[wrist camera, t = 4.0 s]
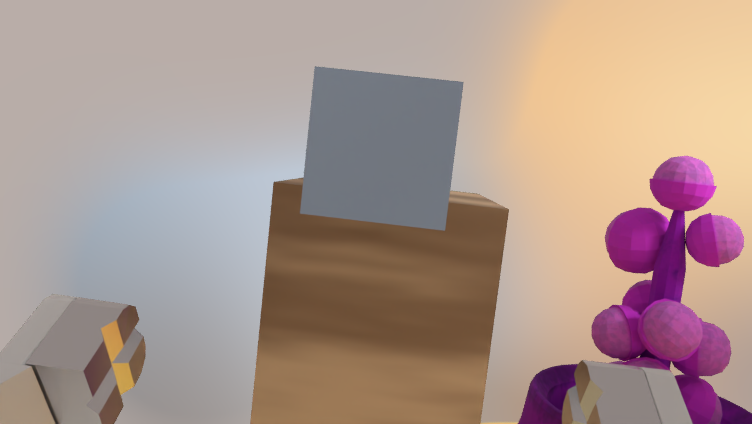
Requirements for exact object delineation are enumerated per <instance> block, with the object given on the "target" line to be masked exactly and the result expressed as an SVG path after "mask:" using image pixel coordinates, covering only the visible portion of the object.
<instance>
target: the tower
mask: <svg viewBox="0 0 752 424" xmlns="http://www.w3.org/2000/svg"><path fill="white" fill-rule="evenodd" d="M303 179H304V178H298V179H291V180H285V181H278V182H274V184H273V195H272V205H271V216H270V227H269V236H268V247H267V257H266V267H265V278H264V288H263V299H262V309H261V319H260V330H259V341H258V351H257V361H256V372H255V381H254V392H253V402H252V412H251V424H480V422H481V414H482V407H483V399H484V392H485V384H486V377H487V369H488V362H489V354H490V347H491V339H492V332H493V325H494V317H495V310H496V302H497V295H498V287H499V280H500V272H501V264H502V257H503V250H504V242H505V234H506V227H507V220H508V212H509V209H507V208H505V207H503V206H501V205H499V204H497V203H495V202H493V201H491V200H489V199H487V198H485V197H483V196H481V195H479V194H475V193H466V192H458V191H450V195H449V203H448V211H447V219H446V227H445V231H443V230H435V229H426V228H418V227H410V226H401V225H393V224H384V223H376V222H367V221H359V220H351V219H342V218H334V217H325V216H317V215H308V214H300V209H301V199H302V189H303Z"/></svg>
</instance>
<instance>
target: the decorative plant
mask: <svg viewBox="0 0 752 424" xmlns="http://www.w3.org/2000/svg"><path fill="white" fill-rule="evenodd" d="M650 189H651V191H652V193H653V196H654V197H655V198H656V200H657V201H658V202H659V203H660V204H661V205H662V206H664V207H667V208H669V209H672V210H674V211H673V213H672V216H671V219H670V222H669V221H668V219H667V218H666V217H665V216H663V215H662V214H661V213H659V212H657V211H655V210H653V209H651V208H637V209H633V210H629V211H626V212H624V213H621V214H620V215H618V216H617V217H616V218H615V219H614V220H613V221H612V222H611V223H610V224H609V226H608V227H607V231H606V235H605V242H606V247H607V251H608V253H609V257H610V259H611V260H612V262H613V263H614V265H615V266H616V267H618V268H620V269H622V270H624V271H627V272H632V273H648V272H651V271H653V277H652V280H644V281H641V282H638V283H636V284H635V285H633V286H632V287H631V288H630V289H629V290H628V291H627V293H626V295H625V296H624V298H623V302H622V305H612V306H611V307H609V309H606V310H603V311H602V312H601V313H600V314H598V315H597V316H596V317H595V319H594V322H593V324H592V338H593V340H594V343H595V345H596V346H597V348H598V349H599V350H600V351H601V352H602V353H604V354H606V355H608V356H610V357H612V358H619V359H620V360H622V361H627V362H622V361H617V362H611V363H612V364H621V365H630V366H637V367H645V368H653V369H662V370H669V371H670V364H671V361H672V363H673V365H674V367H676V368H677V369H678V370H680V371H681V372H682V373H684V374H685V375H677V376H675V379H676V382H677V384H678V387H679V389H680V392H681V395H682V397H683V400H684V402H685V405H686V408H687V410H688V413H689V415H690V418H691V421H692V423H693V424H752V413H750V412H748V411H747V410H745V409H743V408H742V407H740V406H738V405H736V404H734V403H732V402H730V401H728V400H726V399H724V398H721V397H719V396H717V394H716V393H715V392H714V390H713V387H712V386H711V385H710V384H709V383H708V382H706V381H705V380H703V379H700V378H699V376H712V375H715V374H718V373H720V372H722V371H723V370H724V369H725V367H726V366H727V365H728V364H729V360H730V356H731V347H730V341H729V339H728V337H727V336H726V334H725V333H724V331H723V330H721V329H720V328H718V327H717V326H715V325H714V324H711V323H707V322H703V321H702V319H701V318H698V317H697V315H696V314H695V313H694V312H693V311H692V310H691V309H690V308H688V307H687V306H685V305H683V304H681V303H680V302H681V296H682V290H683V284H684V278H685V272H686V261H685V260H686V259H685V244H686V247H687V250H688V253H689V254H690V255H691V256H692V257H693V258H694V259H695V260H696V261H697V262H699V263H701V264H704V265H706V266H711V267H719V265H720V264H724V263H728V262H730V261H732V260H734V259H735V258H737V257H738V256H739V255H740V253H741V251H742V249H743V247H744V246H743V245H744V236H743V234H742V231H741V229H740V227H739V226H738V225H737V224H736V223H735V222H734V221H733V220H732V219H730V218H727V217H724V216H715V215H711V213H709V214H706V215H702V216H699V217H698V218H697V219H695V220H694V221H692V222H691V224H690V226H689V228H688V229H687V231H686V237H685V216H684V215H685V214H684V211H691V210H695V209H698V208H700V207H702V206H704V205H705V204H706V202H707V201H708V200H709V199H710V198H711V197H712V196H713V194H714V192H715V189H716V186H714V182H713V175H712V173H711V171H710V169H709V167H708V166H707V165H706V164H705V163H704V162H703V161H701V160H699V159H696V158H693V157H689V156H680V157H673V158H670V159H668V160H667V161H665V162H664V163H663V164H661V165H660V167H658V169H657V170H656V171H655V174H654V176H653V179H650ZM639 355H640V358H636V357H638V356H639ZM628 360H629V361H628ZM577 365H578V364H571V365H560V366H554V367H550V368H548V369H545V370H542V371H541V372H539V373H538V374H536V375H535V377H534V378H533V380H532V381H531V383H530V386H529V390H528V394H527V397H526V401H525V405H524V408H523V412H522V416H521V418H520V420H519V423H518V424H562V411H563V403H564V400H565V397H566V394H567V391H568V390H569V389H570V388H572V387H574V386H575V385H576V382H575V376H574V373H575V370H576V368H577ZM670 372H671V371H670Z"/></svg>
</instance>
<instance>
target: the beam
mask: <svg viewBox="0 0 752 424" xmlns="http://www.w3.org/2000/svg"><path fill="white" fill-rule="evenodd" d="M462 90H463V82H458V81H448V80H439V79H429V78H420V77H410V76H400V75H391V74H382V73H372V72H363V71H353V70H344V69H334V68H325V67H315V71H314V81H313V90H312V100H311V110H310V121H309V130H308V140H307V149H306V160H305V170H304V179H303V189H302V199H301V209H300V214H308V215H317V216H325V217H334V218H342V219H351V220H359V221H367V222H376V223H384V224H393V225H401V226H410V227H418V228H426V229H435V230H443V231H445V227H446V219H447V211H448V203H449V195H450V187H451V179H452V170H453V162H454V154H455V146H456V138H457V130H458V122H459V113H460V106H461V98H462Z"/></svg>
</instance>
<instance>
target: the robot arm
mask: <svg viewBox="0 0 752 424" xmlns="http://www.w3.org/2000/svg"><path fill="white" fill-rule="evenodd" d="M138 321H139V317H138V314H137V310H136V307H134V306H131V305H126V304H120V303H113V302H106V301H99V300H93V299H86V298H80V297H79V298H77V297H70V296H64V295H56V294H52V295H51V296H49V297H47V298H45V299H44V300H43V301H42V302H41V304H40V305H39V306H38V307H37V308H36V310H35V311H34V312H33V313H32V315H31V316H30V317H29V318H28V319H27V321H26V322H25V323H24V324H23V326H22V327H21V328H20V329H19V330H18V332H17V333H16V334H15V335H14V337H13V338H12V339H11V340H10V342H9V343H8V344H7V345H6V346H5V348H4V349H3V350H2V351H1V353H0V424H114V423H115V421H116V419H117V417H118V415H119V413H120V412H121V410H122V408H123V403H122V398H121V394H123V393H124V392H126V391H128V390H129V389H131V388H132V387H134V386H135V384H136V382H137V380H138V378H139V376H140V374H141V371H142V368H143V364H144V360H145V342H144V337H143V336H142V335H141V334H140V333H139V332H138V331H137V330H136V329H135V326H136V324H137V323H138ZM574 376H575V382H576V385H575V386H574V387H572V388H570V389H569V390H568V391H567V394H566V397H565V400H564V403H563V411H562V424H693V423H692V421H691V418H690V415H689V413H688V410H687V408H686V405H685V402H684V400H683V397H682V395H681V392H680V389H679V387H678V384H677V382H676V379H675V376H674V375H673V374H672V373H671V372H670V371H669V370H662V369H653V368H645V367H637V366H630V365H621V364H612V363H602V362H594V361H585V360H582V361H581V362H580V363H579V364H578V365H577V368H576V370H575V373H574Z"/></svg>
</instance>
